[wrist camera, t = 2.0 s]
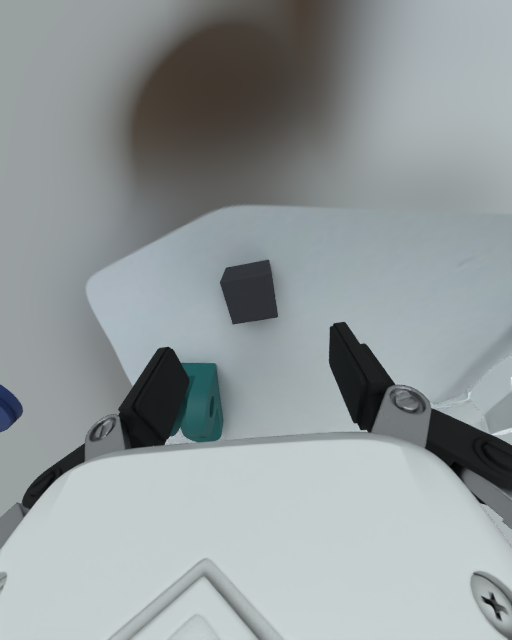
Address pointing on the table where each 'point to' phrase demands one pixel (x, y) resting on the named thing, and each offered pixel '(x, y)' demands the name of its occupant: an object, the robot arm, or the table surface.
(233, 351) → the table surface
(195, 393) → the bracket
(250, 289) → the dark grey cube
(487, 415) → the llama figurine
